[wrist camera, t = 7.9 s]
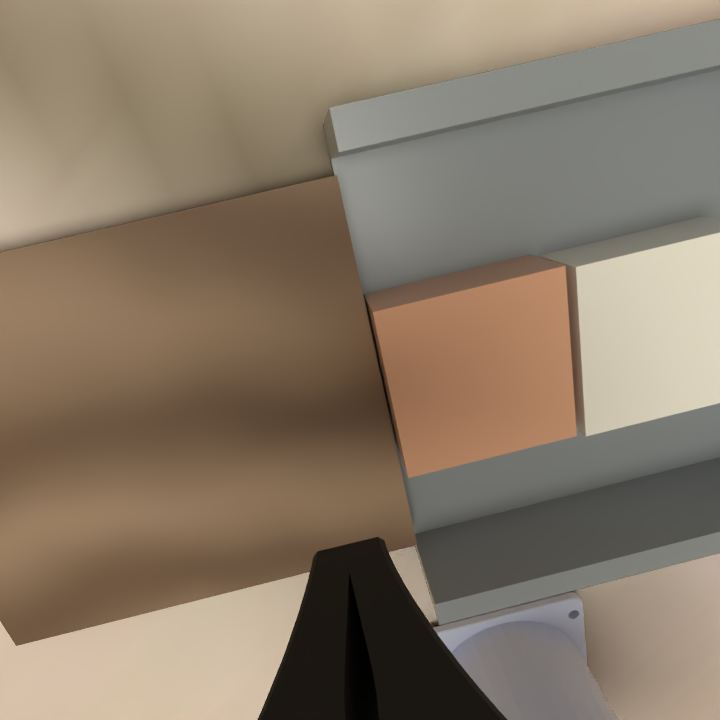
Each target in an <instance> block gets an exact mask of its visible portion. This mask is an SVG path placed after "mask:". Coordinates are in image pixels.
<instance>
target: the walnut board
mask: <svg viewBox="0 0 720 720" xmlns="http://www.w3.org/2000/svg"><path fill="white" fill-rule="evenodd" d="M375 537H379V538H381V539H383V540H385V544H386V547H387V550H388V552H390V551H394V550H398V549H402V548H406V547H410V546H414V545H417V541H416V537H415V532H414V527H413V523H412V518H411V514H410V509H409V504H408V500H407V495H406V491H405V486H404V481H403V477H402V472H401V468H400V463H399V458H398V454H397V449H396V445H395V440H394V435H393V431H392V426H391V422H390V417H389V412H388V408H387V403H386V398H385V394H384V389H383V385H382V380H381V375H380V371H379V366H378V362H377V357H376V352H375V348H374V343H373V339H372V334H371V329H370V325H369V320H368V316H367V311H366V306H365V302H364V297H363V293H362V288H361V283H360V279H359V274H358V269H357V265H356V260H355V256H354V251H353V246H352V242H351V237H350V233H349V228H348V223H347V219H346V214H345V210H344V205H343V200H342V196H341V191H340V187H339V182H338V177H337V175H334V176H330V177H326V178H321V179H317V180H313V181H308V182H304V183H300V184H295V185H291V186H287V187H282V188H278V189H274V190H269V191H265V192H261V193H256V194H252V195H248V196H243V197H239V198H235V199H230V200H226V201H222V202H217V203H213V204H208V205H204V206H200V207H195V208H191V209H187V210H182V211H178V212H174V213H169V214H165V215H161V216H156V217H152V218H148V219H143V220H139V221H135V222H130V223H126V224H122V225H117V226H113V227H109V228H104V229H100V230H96V231H91V232H87V233H83V234H78V235H74V236H70V237H65V238H61V239H57V240H52V241H48V242H44V243H39V244H35V245H31V246H26V247H22V248H18V249H13V250H9V251H5V252H0V621H1V623H2V624H3V626H4V627H5V629H6V631H7V632H8V634H9V635H10V637H11V638H12V640H13V641H14V643H15V645H16V646H17V645H21V644H25V643H29V642H33V641H37V640H41V639H45V638H49V637H53V636H57V635H61V634H65V633H69V632H73V631H77V630H81V629H85V628H89V627H93V626H97V625H101V624H105V623H109V622H113V621H117V620H121V619H125V618H128V617H132V616H136V615H140V614H144V613H148V612H152V611H156V610H160V609H164V608H168V607H172V606H176V605H180V604H184V603H188V602H192V601H196V600H200V599H204V598H208V597H212V596H216V595H220V594H224V593H228V592H232V591H236V590H240V589H243V588H247V587H251V586H255V585H259V584H263V583H267V582H271V581H275V580H279V579H283V578H287V577H291V576H295V575H299V574H303V573H307V572H310V570H311V566H312V561H313V557H314V555H315V554H316V553H317V551H321V550H325V549H329V548H333V547H337V546H342V545H346V544H350V543H354V542H358V541H362V540H367V539H371V538H375Z"/></svg>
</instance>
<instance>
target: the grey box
mask: <svg viewBox="0 0 720 720" xmlns="http://www.w3.org/2000/svg"><path fill="white" fill-rule="evenodd" d="M323 127H324V132H325V137H326V141H327V146H328V150H329V155H330V159H331V164H332V169H333V173H334V175H337V177H338V182H339V187H340V191H341V196H342V200H343V205H344V210H345V214H346V219H347V223H348V228H349V233H350V237H351V242H352V246H353V251H354V256H355V260H356V265H357V269H358V274H359V279H360V283H361V288H362V293H363V294H367V293H371V292H376V291H380V290H384V289H388V288H392V287H397V286H401V285H405V284H409V283H413V282H417V281H422V280H426V279H430V278H434V277H438V276H442V275H447V274H451V273H455V272H459V271H463V270H468V269H472V268H476V267H480V266H484V265H488V264H493V263H497V262H501V261H505V260H509V259H513V258H518V257H522V256H526V255H533V256H536V257H539V255H544V254H548V253H552V252H556V251H560V250H565V249H569V248H573V247H577V246H581V245H585V244H590V243H594V242H598V241H602V240H606V239H611V238H615V237H619V236H623V235H627V234H631V233H636V232H640V231H644V230H648V229H652V228H657V227H661V226H665V225H669V224H673V223H677V222H682V221H686V220H690V219H694V218H698V217H713V218H720V19H718V20H713V21H709V22H705V23H700V24H696V25H691V26H687V27H683V28H678V29H674V30H669V31H665V32H661V33H656V34H652V35H647V36H643V37H638V38H634V39H630V40H625V41H621V42H616V43H612V44H608V45H603V46H599V47H594V48H590V49H586V50H581V51H577V52H572V53H568V54H563V55H559V56H555V57H550V58H546V59H541V60H537V61H533V62H528V63H524V64H519V65H515V66H510V67H506V68H502V69H497V70H493V71H488V72H484V73H480V74H475V75H471V76H466V77H462V78H458V79H453V80H449V81H444V82H440V83H435V84H431V85H427V86H422V87H418V88H413V89H409V90H405V91H400V92H396V93H391V94H387V95H383V96H378V97H374V98H369V99H365V100H360V101H356V102H352V103H347V104H343V105H338V106H334V107H330V108H329V110H328V113H327V116H326V119H325V122H324V124H323ZM363 297H364V295H363ZM364 302H365V300H364ZM365 306H366V304H365ZM366 311H367V309H366ZM367 316H368V313H367ZM368 320H369V318H368ZM369 325H370V322H369ZM370 329H371V327H370ZM371 334H372V332H371ZM372 339H373V336H372ZM373 343H374V341H373ZM374 348H375V345H374ZM375 352H376V350H375ZM376 357H377V354H376ZM377 362H378V359H377ZM378 366H379V364H378ZM379 371H380V368H379ZM380 375H381V373H380ZM381 380H382V377H381ZM382 385H383V382H382ZM383 389H384V386H383ZM384 394H385V391H384ZM385 398H386V396H385ZM386 403H387V400H386ZM387 408H388V405H387ZM388 412H389V409H388ZM389 417H390V414H389ZM390 422H391V418H390ZM391 426H392V423H391ZM392 431H393V428H392ZM576 431H577V436H575V437H571V438H567V439H563V440H559V441H555V442H551V443H547V444H543V445H539V446H535V447H531V448H527V449H523V450H519V451H515V452H511V453H507V454H503V455H499V456H495V457H491V458H487V459H483V460H479V461H475V462H471V463H467V464H463V465H459V466H455V467H451V468H447V469H443V470H439V471H435V472H431V473H427V474H423V475H419V476H415V477H411V478H408V475H407V473H406V470H405V467H404V464H403V461H402V458H401V456H400V453H399V450H398V447H397V444H396V441H395V445H396V449H397V454H398V458H399V463H400V468H401V472H402V477H403V481H404V486H405V491H406V495H407V500H408V504H409V509H410V514H411V518H412V523H413V527H414V532H415V537H416V541H417V545H415V547H416V551H417V554H418V557H419V560H420V564H421V567H422V570H423V574H424V577H425V580H426V583H427V587H428V590H429V593H430V596H431V600H432V603H433V606H434V609H435V613H436V616H437V619H438V622H439V625H442V624H446V623H450V622H454V621H457V620H461V619H465V618H469V617H473V616H477V615H481V614H485V613H489V612H492V611H496V610H500V609H504V608H508V607H512V606H516V605H520V604H524V603H528V602H531V601H535V600H539V599H543V598H547V597H551V596H555V595H559V594H563V593H566V592H570V591H574V590H578V589H582V588H586V587H590V586H594V585H598V584H601V583H605V582H609V581H613V580H617V579H621V578H625V577H629V576H633V575H636V574H640V573H644V572H648V571H652V570H656V569H660V568H664V567H668V566H671V565H675V564H679V563H683V562H687V561H691V560H695V559H699V558H703V557H707V556H710V555H714V554H718V553H720V403H718V404H714V405H710V406H706V407H702V408H698V409H694V410H690V411H686V412H682V413H678V414H674V415H670V416H666V417H662V418H658V419H654V420H650V421H646V422H642V423H638V424H634V425H630V426H626V427H622V428H618V429H614V430H610V431H606V432H602V433H598V434H594V435H590V436H585V435H584V434H583V433H581V432H580V431H579V430H578V429H577V428H576ZM393 435H394V432H393ZM394 440H395V437H394Z"/></svg>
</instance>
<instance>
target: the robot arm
mask: <svg viewBox="0 0 720 720" xmlns="http://www.w3.org/2000/svg"><path fill="white" fill-rule="evenodd" d="M258 720H618V718H617V716H616V714H615V713H614V711H613V709H612V708H611V706H610V704H609V703H608V701H607V699H606V697H605V696H604V694H603V692H602V691H601V689H600V687H599V685H598V684H597V682H596V680H595V679H594V677H593V675H592V673H591V672H590V670H589V668H588V667H587V654H586V640H585V626H584V611H583V602H582V600H581V598H580V597H579V595H578V594H576V593H573V592H571V593H565V594H561V595H558V596H554V597H550V598H546V599H542V600H538V601H534V602H530V603H526V604H523V605H519V606H515V607H511V608H507V609H503V610H499V611H495V612H491V613H487V614H484V615H480V616H476V617H472V618H468V619H464V620H460V621H456V622H452V623H449V624H445V625H441V626H437V627H432V626H431V624H430V623H429V621H428V620H427V618H426V617H425V615H424V614H423V612H422V611H421V609H420V608H419V606H418V605H417V603H416V602H415V600H414V599H413V597H412V596H411V594H410V592H409V591H408V589H407V588H406V586H405V584H404V582H403V580H402V579H401V577H400V575H399V573H398V572H397V570H396V568H395V566H394V564H393V562H392V559H391V557H390V555H389V552H388V550H387V547H386V544H385V540H383V539H381V538H379V537H375V538H371V539H367V540H362V541H358V542H354V543H350V544H346V545H342V546H337V547H333V548H329V549H325V550H321V551H317V553H316V554H315V555H314V557H313V561H312V566H311V570H310V575H309V579H308V583H307V586H306V590H305V593H304V597H303V600H302V603H301V607H300V610H299V613H298V616H297V619H296V622H295V625H294V628H293V631H292V634H291V637H290V640H289V643H288V646H287V648H286V651H285V654H284V657H283V659H282V662H281V664H280V667H279V669H278V672H277V674H276V677H275V679H274V682H273V684H272V687H271V689H270V692H269V694H268V696H267V699H266V701H265V704H264V706H263V709H262V711H261V713H260V715H259V718H258Z"/></svg>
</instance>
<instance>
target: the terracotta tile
mask: <svg viewBox="0 0 720 720" xmlns="http://www.w3.org/2000/svg"><path fill="white" fill-rule="evenodd" d="M363 295H364V300H365V304H366V309H367V313H368V318H369V322H370V327H371V332H372V336H373V341H374V345H375V350H376V354H377V359H378V364H379V368H380V373H381V377H382V382H383V386H384V391H385V396H386V400H387V405H388V409H389V414H390V418H391V423H392V428H393V432H394V437H395V441H396V444H397V447H398V450H399V453H400V456H401V458H402V461H403V464H404V467H405V470H406V473H407V475H408V478H411V477H415V476H419V475H423V474H427V473H431V472H435V471H439V470H443V469H447V468H451V467H455V466H459V465H463V464H467V463H471V462H475V461H479V460H483V459H487V458H491V457H495V456H499V455H503V454H507V453H511V452H515V451H519V450H523V449H527V448H531V447H535V446H539V445H543V444H547V443H551V442H555V441H559V440H563V439H567V438H571V437H575V436H577V431H576V416H575V401H574V386H573V371H572V356H571V341H570V326H569V311H568V297H567V282H566V267H565V266H564V265H561V264H558V263H555V262H552V261H549V260H546V259H542V258H539V257H536V256H533V255H526V256H522V257H518V258H513V259H509V260H505V261H501V262H497V263H493V264H488V265H484V266H480V267H476V268H472V269H468V270H463V271H459V272H455V273H451V274H447V275H442V276H438V277H434V278H430V279H426V280H422V281H417V282H413V283H409V284H405V285H401V286H397V287H392V288H388V289H384V290H380V291H376V292H371V293H367V294H363Z"/></svg>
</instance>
